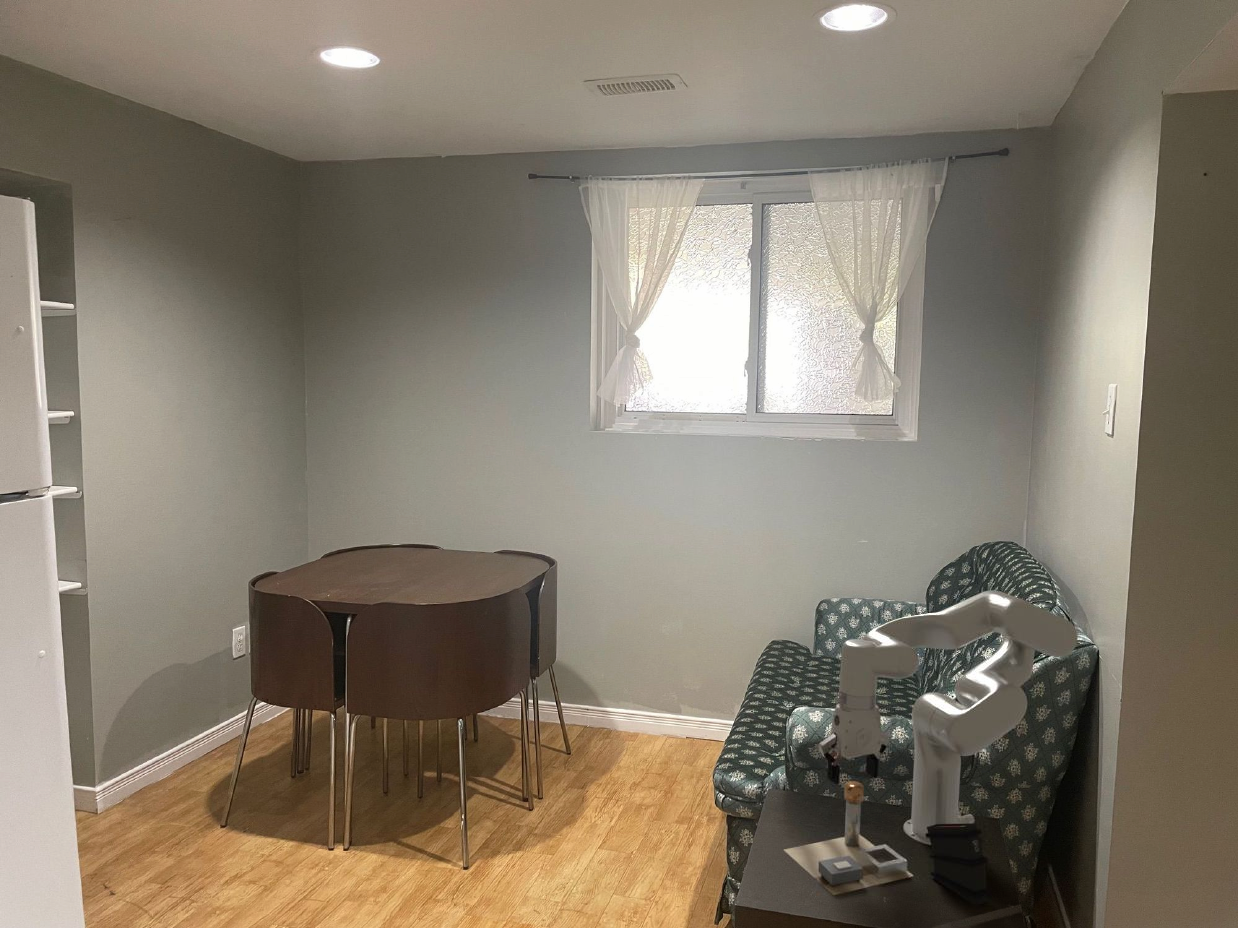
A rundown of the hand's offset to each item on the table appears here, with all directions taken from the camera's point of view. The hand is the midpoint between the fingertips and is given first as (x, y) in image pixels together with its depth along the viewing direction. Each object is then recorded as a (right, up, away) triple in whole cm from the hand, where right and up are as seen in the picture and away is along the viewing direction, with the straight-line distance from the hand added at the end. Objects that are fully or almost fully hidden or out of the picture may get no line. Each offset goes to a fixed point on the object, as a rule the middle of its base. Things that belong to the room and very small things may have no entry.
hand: (852, 778), depth 199 cm
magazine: (+17, -18, -14) cm, 28 cm away
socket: (+4, -16, -7) cm, 18 cm away
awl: (0, -15, +2) cm, 15 cm away
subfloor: (-3, -16, -6) cm, 17 cm away
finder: (-5, -16, -12) cm, 21 cm away
